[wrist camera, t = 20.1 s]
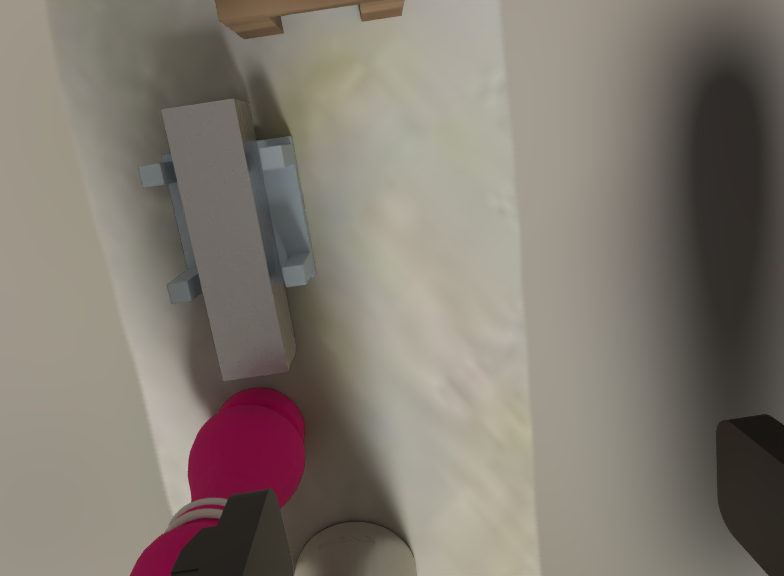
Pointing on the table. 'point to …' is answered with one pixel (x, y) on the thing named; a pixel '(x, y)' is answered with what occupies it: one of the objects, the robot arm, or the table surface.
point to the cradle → (283, 210)
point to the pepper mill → (233, 468)
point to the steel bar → (232, 236)
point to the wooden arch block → (291, 12)
